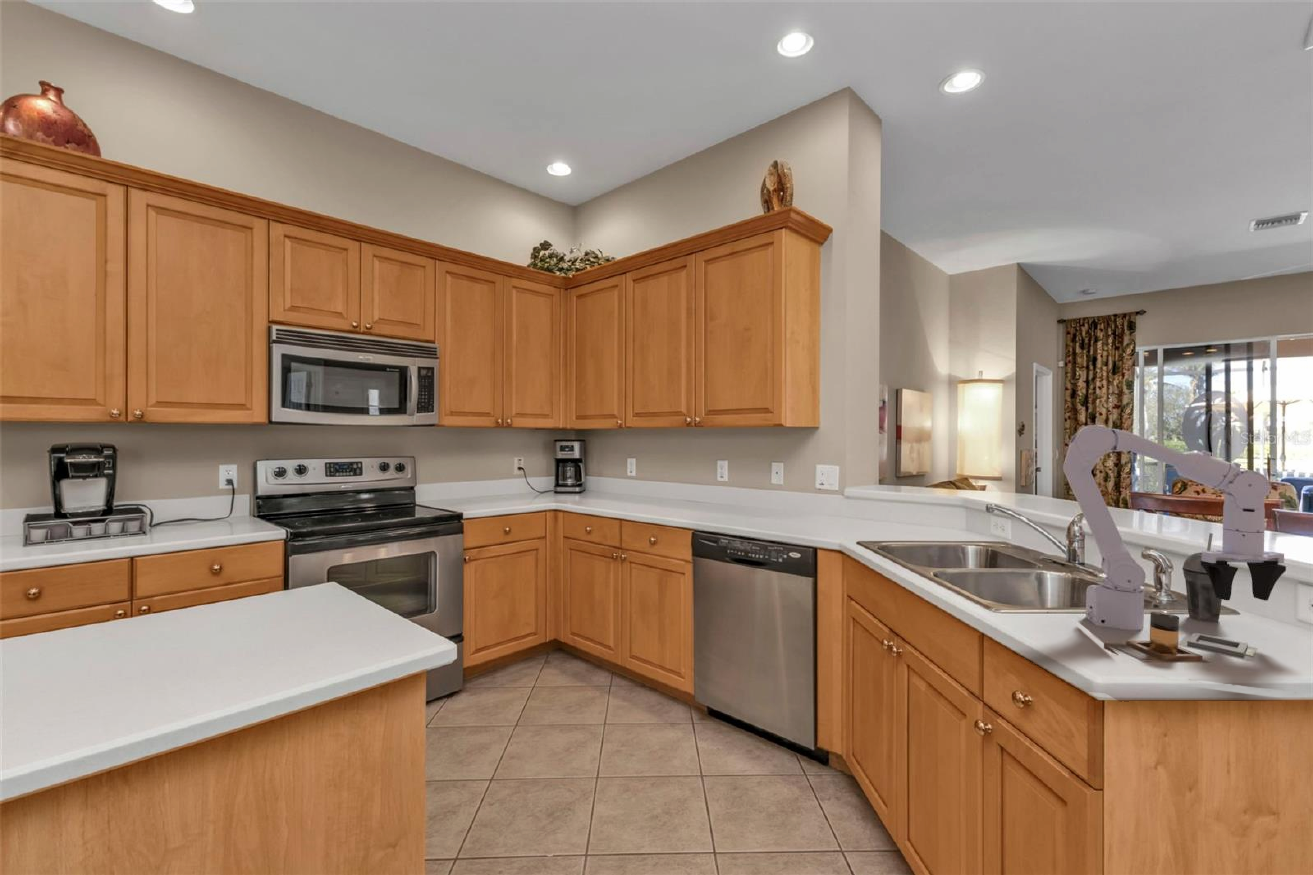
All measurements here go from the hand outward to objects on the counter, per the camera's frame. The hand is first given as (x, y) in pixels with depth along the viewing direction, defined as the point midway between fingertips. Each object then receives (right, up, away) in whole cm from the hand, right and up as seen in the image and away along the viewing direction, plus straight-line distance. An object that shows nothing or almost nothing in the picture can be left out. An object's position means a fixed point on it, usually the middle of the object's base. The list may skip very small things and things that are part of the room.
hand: (1241, 599), depth 113 cm
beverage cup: (+6, -10, +14) cm, 18 cm away
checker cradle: (-7, -9, -3) cm, 12 cm away
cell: (-21, -8, -6) cm, 23 cm away
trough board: (-22, -9, -6) cm, 25 cm away
